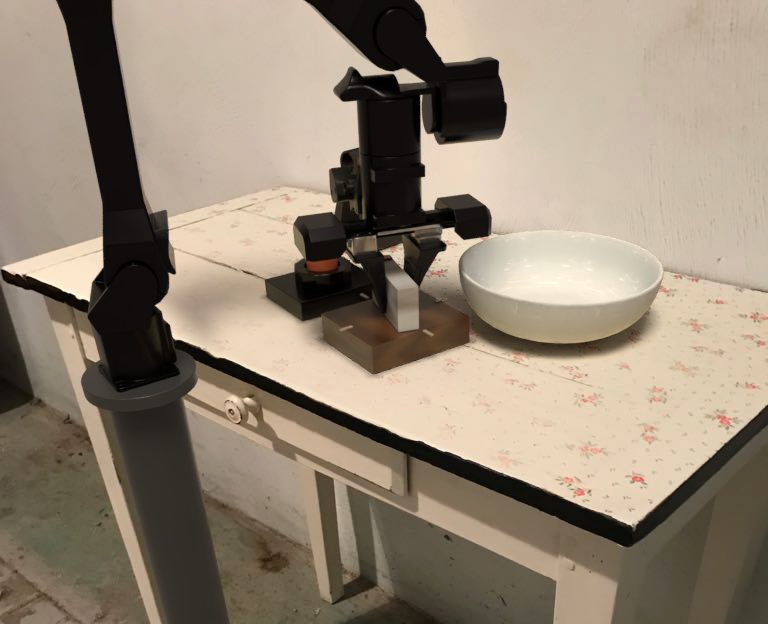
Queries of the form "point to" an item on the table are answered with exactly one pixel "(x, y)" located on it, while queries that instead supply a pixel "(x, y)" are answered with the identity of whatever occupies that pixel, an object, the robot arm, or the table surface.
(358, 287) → the button block
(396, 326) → the silver metal brick
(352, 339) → the brown wooden block base
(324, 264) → the button
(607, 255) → the serving bowl
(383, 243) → the phone stand
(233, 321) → the table surface
